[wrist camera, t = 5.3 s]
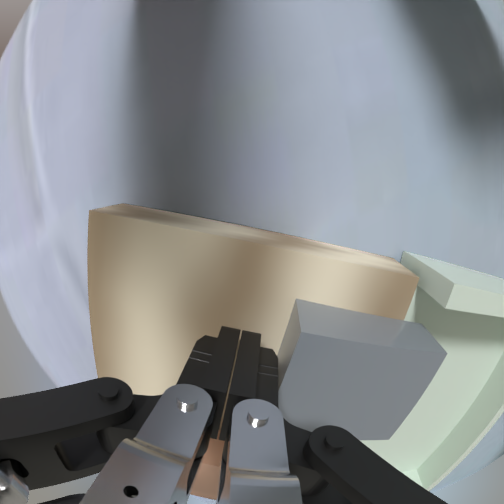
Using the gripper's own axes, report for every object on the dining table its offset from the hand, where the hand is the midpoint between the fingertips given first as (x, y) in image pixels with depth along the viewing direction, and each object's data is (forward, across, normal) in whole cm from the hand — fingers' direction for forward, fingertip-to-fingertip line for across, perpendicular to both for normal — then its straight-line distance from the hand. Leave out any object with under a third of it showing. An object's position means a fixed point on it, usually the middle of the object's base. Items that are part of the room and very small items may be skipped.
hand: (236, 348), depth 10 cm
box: (+4, -13, +4) cm, 14 cm away
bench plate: (+4, 0, +4) cm, 6 cm away
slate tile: (+1, -5, 0) cm, 5 cm away
